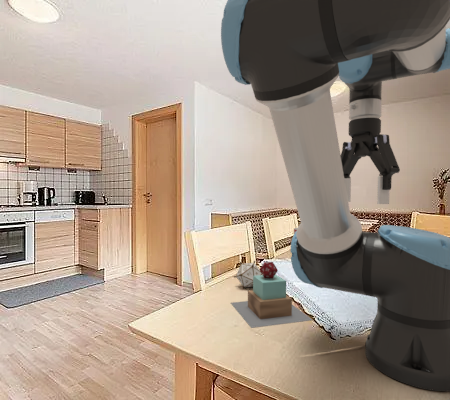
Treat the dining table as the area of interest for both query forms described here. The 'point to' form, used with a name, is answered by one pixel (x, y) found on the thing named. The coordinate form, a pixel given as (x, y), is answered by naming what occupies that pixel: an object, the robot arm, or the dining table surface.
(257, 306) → the base block
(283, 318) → the mat
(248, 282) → the game die
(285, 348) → the dining table surface
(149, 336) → the dining table surface
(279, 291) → the mid block
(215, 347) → the dining table surface
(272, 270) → the dice
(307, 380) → the dining table surface
